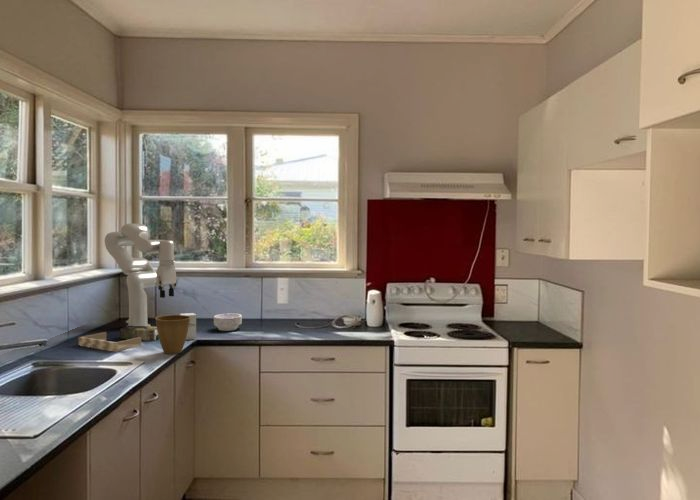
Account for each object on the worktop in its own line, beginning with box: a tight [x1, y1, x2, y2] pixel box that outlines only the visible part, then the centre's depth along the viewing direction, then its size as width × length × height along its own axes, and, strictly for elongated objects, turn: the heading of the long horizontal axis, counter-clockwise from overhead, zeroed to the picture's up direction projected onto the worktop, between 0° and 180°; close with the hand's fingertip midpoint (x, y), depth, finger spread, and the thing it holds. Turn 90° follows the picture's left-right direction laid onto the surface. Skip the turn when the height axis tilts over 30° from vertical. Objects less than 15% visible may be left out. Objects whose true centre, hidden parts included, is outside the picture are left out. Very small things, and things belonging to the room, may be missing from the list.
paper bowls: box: [213, 312, 243, 332], centre depth 283 cm, size 15×15×8 cm
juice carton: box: [119, 325, 159, 342], centre depth 260 cm, size 20×10×6 cm, turn 84°
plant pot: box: [155, 314, 190, 355], centre depth 230 cm, size 15×15×16 cm
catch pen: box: [77, 331, 142, 353], centre depth 243 cm, size 26×14×4 cm, turn 62°
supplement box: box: [178, 312, 197, 341], centre depth 259 cm, size 7×7×13 cm
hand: (167, 296), depth 274 cm, fingers open, 5 cm apart
